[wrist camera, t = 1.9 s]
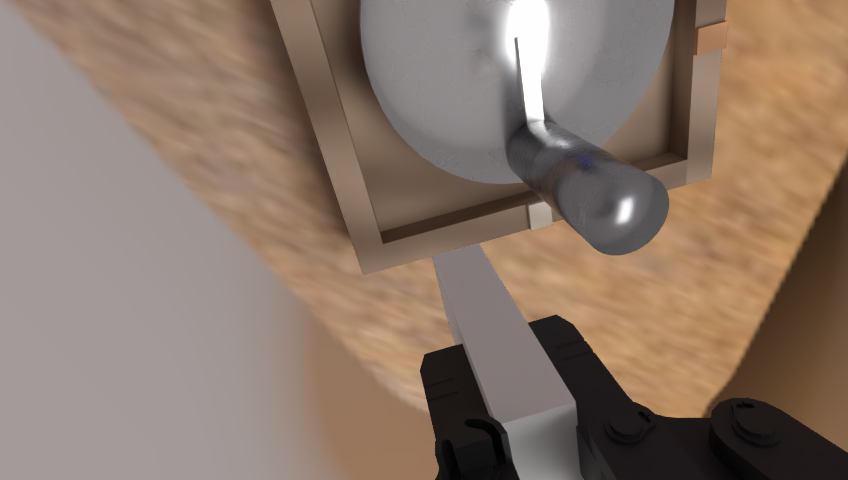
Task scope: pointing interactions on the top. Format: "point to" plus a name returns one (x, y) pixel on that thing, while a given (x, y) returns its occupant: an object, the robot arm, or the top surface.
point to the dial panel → (458, 197)
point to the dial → (526, 98)
